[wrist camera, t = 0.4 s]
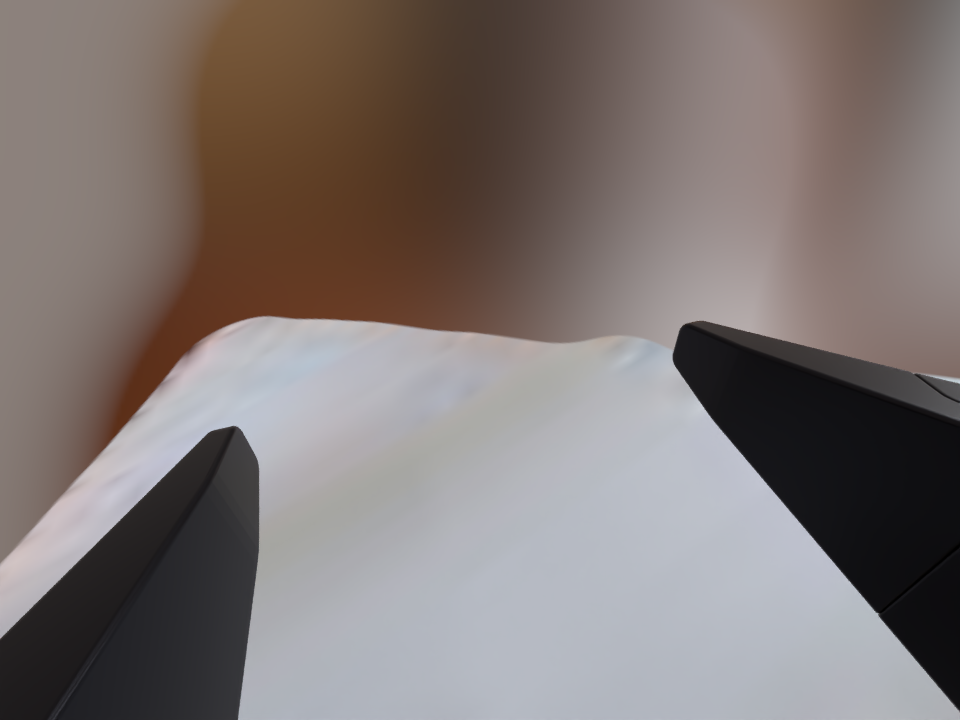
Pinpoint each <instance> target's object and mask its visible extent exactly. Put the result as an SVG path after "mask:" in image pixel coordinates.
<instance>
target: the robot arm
mask: <svg viewBox="0 0 960 720" xmlns="http://www.w3.org/2000/svg"><path fill="white" fill-rule="evenodd" d="M673 362H674V365H675V367H676V368H677V370H678V371H679V372H680V374H681V375H682V377H683V378H684V380H685V381H686V383H687V384H688V385H689V387H690V388H691V390H692V391H693V393H694V394H695V396H696V397H697V398H698V400H699V401H700V403H701V404H702V406H703V407H704V408H705V410H706V411H707V413H708V414H709V415H710V417H711V418H712V419H713V421H714V422H715V423H716V424H717V426H718V427H719V428H720V429H721V430H722V432H723V433H724V434H725V435H726V436H727V437H728V439H729V440H730V441H731V442H732V443H733V445H734V446H735V447H736V448H737V449H738V450H739V452H740V453H741V454H742V455H743V456H744V457H745V459H746V460H747V461H748V462H749V463H750V465H751V466H752V467H753V468H754V469H755V470H756V472H757V473H758V474H759V475H760V476H761V478H762V479H763V480H764V481H765V482H766V483H767V485H768V486H769V487H770V488H771V489H772V490H773V492H774V493H775V494H776V495H777V496H778V498H779V499H780V500H781V501H782V502H783V503H784V505H785V506H786V507H787V508H788V509H789V511H790V512H791V513H792V514H793V515H794V516H795V518H796V519H797V520H798V521H799V522H800V523H801V525H802V526H803V527H804V528H805V529H806V531H807V532H808V533H809V534H810V535H811V536H812V538H813V539H814V540H815V541H816V542H817V543H818V545H819V546H820V547H821V548H822V549H823V551H824V552H825V553H826V554H827V555H828V556H829V558H830V559H831V560H832V561H833V562H834V564H835V565H836V566H837V567H838V568H839V569H840V571H841V572H842V573H843V574H844V575H845V576H846V578H847V579H848V580H849V581H850V582H851V584H852V585H853V586H854V587H855V588H856V589H857V591H858V592H859V593H860V594H861V595H862V597H863V598H864V599H865V600H866V601H867V602H868V604H869V605H870V606H871V607H872V608H873V609H874V611H875V612H876V613H879V614H878V616H879V617H880V618H881V620H882V621H883V622H884V623H885V624H886V625H887V627H888V628H889V629H890V630H891V631H892V633H893V634H894V635H895V636H896V637H897V638H898V640H899V641H900V642H901V643H902V644H903V645H904V647H905V648H906V649H907V650H908V651H909V653H910V654H911V655H912V656H913V657H914V658H915V660H916V661H917V662H918V663H919V664H920V666H921V667H922V668H923V669H924V670H925V671H926V673H927V674H928V675H929V676H930V677H931V679H932V680H933V681H934V682H935V683H936V684H937V686H938V687H939V688H940V689H941V690H942V692H943V693H944V694H945V695H946V696H947V697H948V699H949V700H950V701H951V702H952V703H953V704H954V706H955V707H956V708H957V709H958V710H959V712H960V384H959V383H954V382H950V381H946V380H942V379H938V378H934V377H930V376H925V375H921V374H917V373H916V374H913V373H911V372H909V371H905V370H901V369H897V368H892V367H889V366H885V365H880V364H876V363H872V362H868V361H864V360H860V359H856V358H852V357H848V356H844V355H840V354H836V353H832V352H828V351H824V350H820V349H815V348H811V347H807V346H803V345H799V344H795V343H791V342H787V341H782V340H778V339H775V338H770V337H766V336H762V335H759V334H755V333H750V332H746V331H742V330H738V329H734V328H730V327H726V326H722V325H718V324H714V323H710V322H706V321H696V322H691V323H687V324H685V325H683V326H682V327H681V328H680V331H679V334H678V337H677V341H676V345H675V348H674V352H673ZM258 553H259V465H258V461H257V458H256V456H255V454H254V452H253V450H252V448H251V447H250V445H249V443H248V441H247V439H246V438H245V436H244V434H243V432H242V431H241V429H240V428H238V427H236V426H231V427H227V428H222V429H218V430H214V431H211V432H209V433H208V434H207V435H206V436H205V437H204V438H203V439H202V440H201V441H200V442H199V443H198V444H197V445H196V446H195V447H194V448H193V449H192V450H191V451H190V452H189V453H188V454H187V455H186V456H185V457H184V458H183V459H181V460H180V461H179V462H178V463H177V464H176V465H175V466H174V467H173V468H172V469H171V470H170V471H169V472H168V473H167V474H166V475H165V476H164V477H163V478H162V479H161V480H160V481H159V482H158V483H157V484H156V485H155V486H154V487H153V488H152V489H151V490H150V491H149V492H148V493H147V494H146V495H145V496H144V497H143V498H142V499H141V500H140V501H139V502H138V503H137V504H136V505H135V506H134V507H133V508H132V509H131V510H130V511H129V512H128V513H127V514H126V515H125V516H124V517H123V518H122V519H121V520H120V521H119V522H118V523H117V524H116V525H115V526H114V527H113V528H112V529H111V530H110V531H109V532H108V533H107V534H106V535H105V536H104V537H103V538H102V539H101V540H100V541H99V542H98V543H97V544H96V545H95V546H94V547H93V548H92V549H91V550H90V551H89V552H88V553H87V554H86V555H85V556H84V557H82V558H81V559H80V560H79V561H78V562H77V563H76V564H75V565H74V566H73V567H72V568H71V569H70V570H69V571H68V572H67V573H66V574H65V575H64V576H63V577H62V578H61V579H60V580H59V581H58V582H57V583H56V584H55V585H54V586H53V587H52V588H51V589H50V590H49V591H48V592H47V593H46V594H45V595H44V596H43V597H42V598H41V599H40V600H39V601H38V602H37V603H36V604H35V605H34V606H33V607H32V608H31V609H30V610H29V611H28V612H27V613H26V614H25V615H24V616H23V617H22V618H21V619H20V620H19V621H18V622H17V623H16V624H15V625H14V626H13V627H12V628H11V629H10V630H9V631H8V632H7V633H6V634H5V635H4V636H3V637H2V638H1V639H0V720H238V714H239V706H240V698H241V690H242V682H243V674H244V666H245V659H246V651H247V643H248V635H249V627H250V619H251V611H252V603H253V595H254V587H255V579H256V571H257V563H258Z"/></svg>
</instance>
